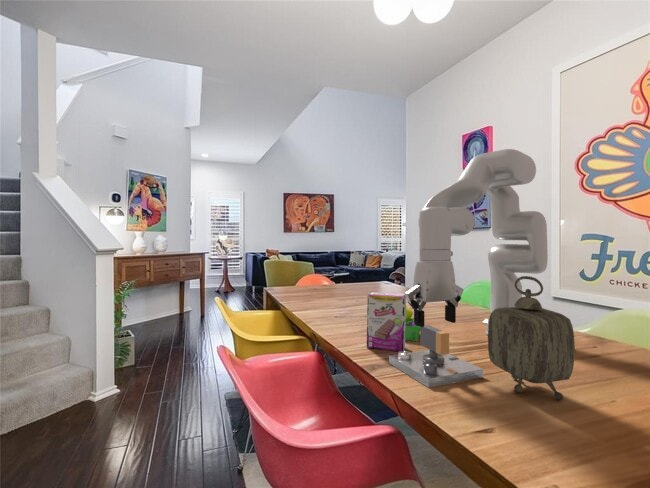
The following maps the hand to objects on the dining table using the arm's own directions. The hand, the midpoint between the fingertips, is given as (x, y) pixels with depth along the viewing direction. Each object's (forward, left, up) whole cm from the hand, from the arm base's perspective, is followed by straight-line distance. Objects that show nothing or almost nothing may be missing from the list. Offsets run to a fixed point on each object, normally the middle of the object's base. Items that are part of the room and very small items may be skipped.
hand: (435, 323), depth 84 cm
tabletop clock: (+17, +10, -12) cm, 23 cm away
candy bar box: (-19, -3, -12) cm, 22 cm away
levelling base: (0, -1, -12) cm, 12 cm away
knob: (0, -1, -9) cm, 9 cm away
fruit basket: (-27, +11, -12) cm, 31 cm away
